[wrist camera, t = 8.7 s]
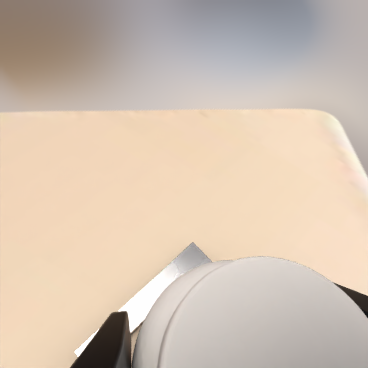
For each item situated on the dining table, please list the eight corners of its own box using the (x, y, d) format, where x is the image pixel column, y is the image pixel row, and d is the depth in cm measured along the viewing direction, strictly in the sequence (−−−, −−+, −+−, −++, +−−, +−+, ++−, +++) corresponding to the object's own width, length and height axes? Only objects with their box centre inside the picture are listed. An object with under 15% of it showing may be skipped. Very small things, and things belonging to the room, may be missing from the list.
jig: (298, 356, 18) (305, 356, 17) (190, 516, 14) (192, 527, 13) (191, 246, 21) (192, 242, 21) (78, 351, 17) (74, 351, 17)
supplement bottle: (286, 381, 12) (533, 437, 4) (188, 477, 11) (281, 904, 2) (215, 277, 15) (286, 180, 6) (123, 342, 13) (54, 322, 5)
